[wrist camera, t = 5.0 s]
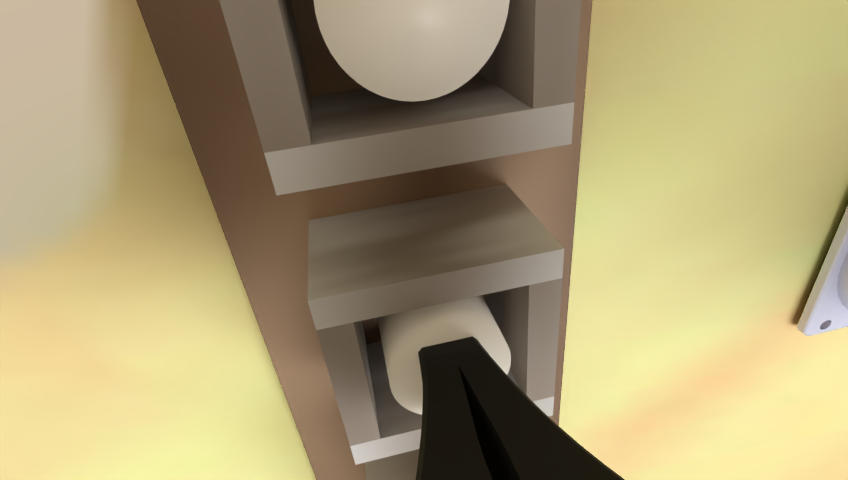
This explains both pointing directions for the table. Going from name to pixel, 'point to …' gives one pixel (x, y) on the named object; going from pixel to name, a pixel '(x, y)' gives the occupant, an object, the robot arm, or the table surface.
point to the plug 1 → (411, 42)
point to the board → (382, 203)
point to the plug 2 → (435, 341)
